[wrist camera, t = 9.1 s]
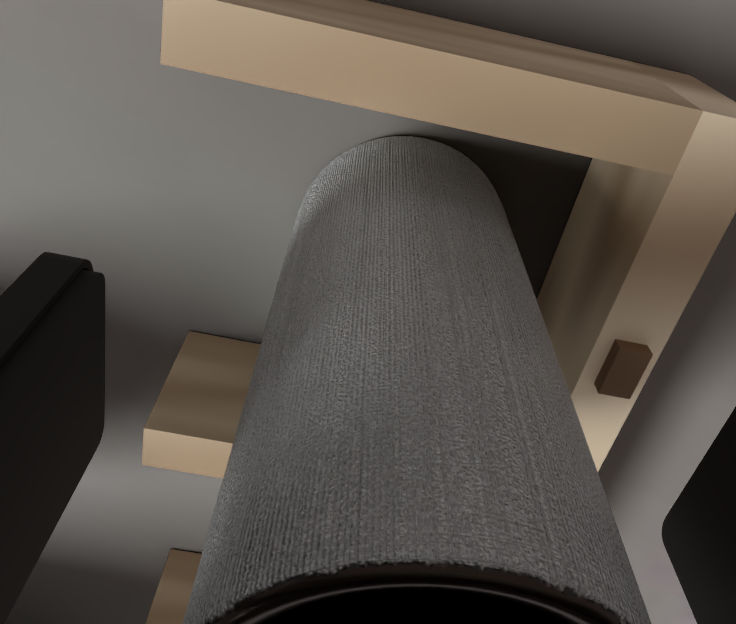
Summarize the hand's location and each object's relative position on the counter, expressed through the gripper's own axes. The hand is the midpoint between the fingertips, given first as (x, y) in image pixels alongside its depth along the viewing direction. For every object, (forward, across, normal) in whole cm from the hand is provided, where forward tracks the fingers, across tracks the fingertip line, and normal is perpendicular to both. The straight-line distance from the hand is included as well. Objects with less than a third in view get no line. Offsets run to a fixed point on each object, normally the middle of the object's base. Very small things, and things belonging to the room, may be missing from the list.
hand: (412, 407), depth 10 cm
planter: (+6, 0, 0) cm, 6 cm away
